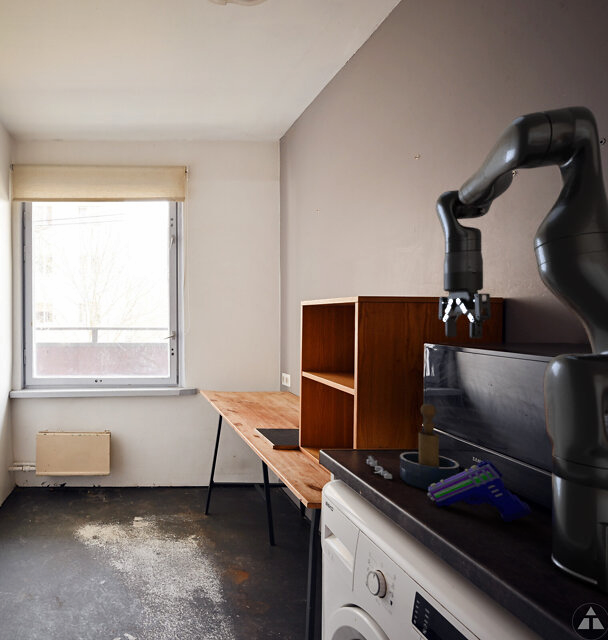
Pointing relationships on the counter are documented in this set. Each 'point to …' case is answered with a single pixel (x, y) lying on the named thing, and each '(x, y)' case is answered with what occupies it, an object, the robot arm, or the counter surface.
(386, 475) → the figurines set
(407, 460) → the blue bowl
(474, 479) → the toy gun
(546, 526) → the counter surface
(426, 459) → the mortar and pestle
